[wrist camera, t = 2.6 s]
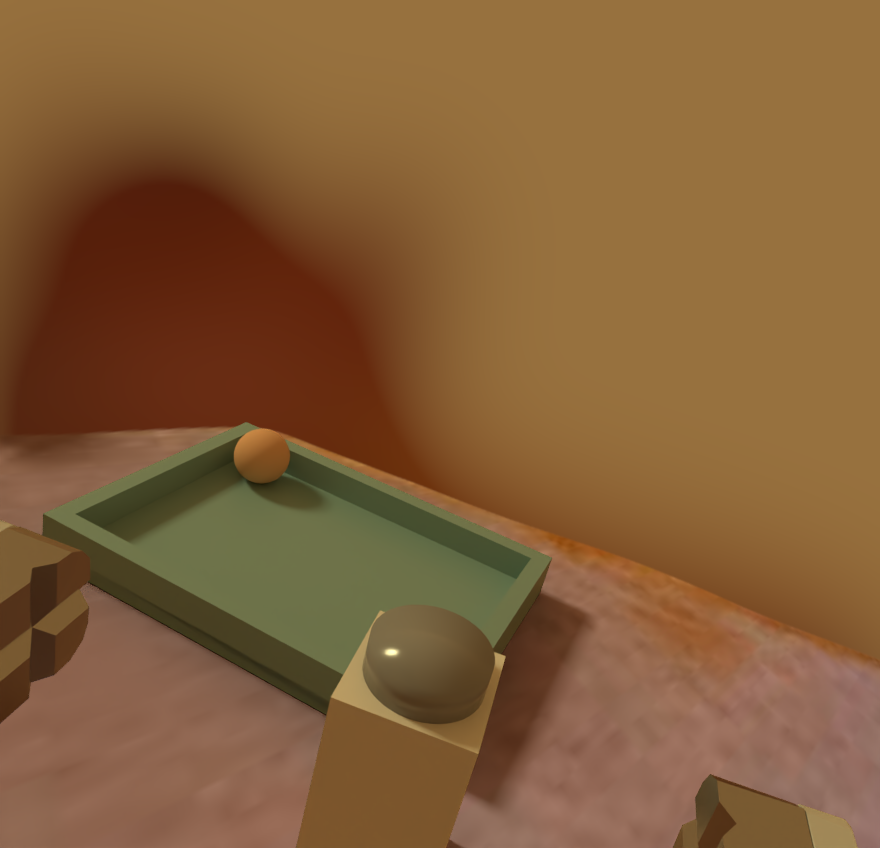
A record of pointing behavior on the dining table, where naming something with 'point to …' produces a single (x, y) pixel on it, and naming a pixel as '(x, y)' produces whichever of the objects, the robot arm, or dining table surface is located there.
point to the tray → (289, 560)
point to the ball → (261, 456)
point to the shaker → (402, 733)
